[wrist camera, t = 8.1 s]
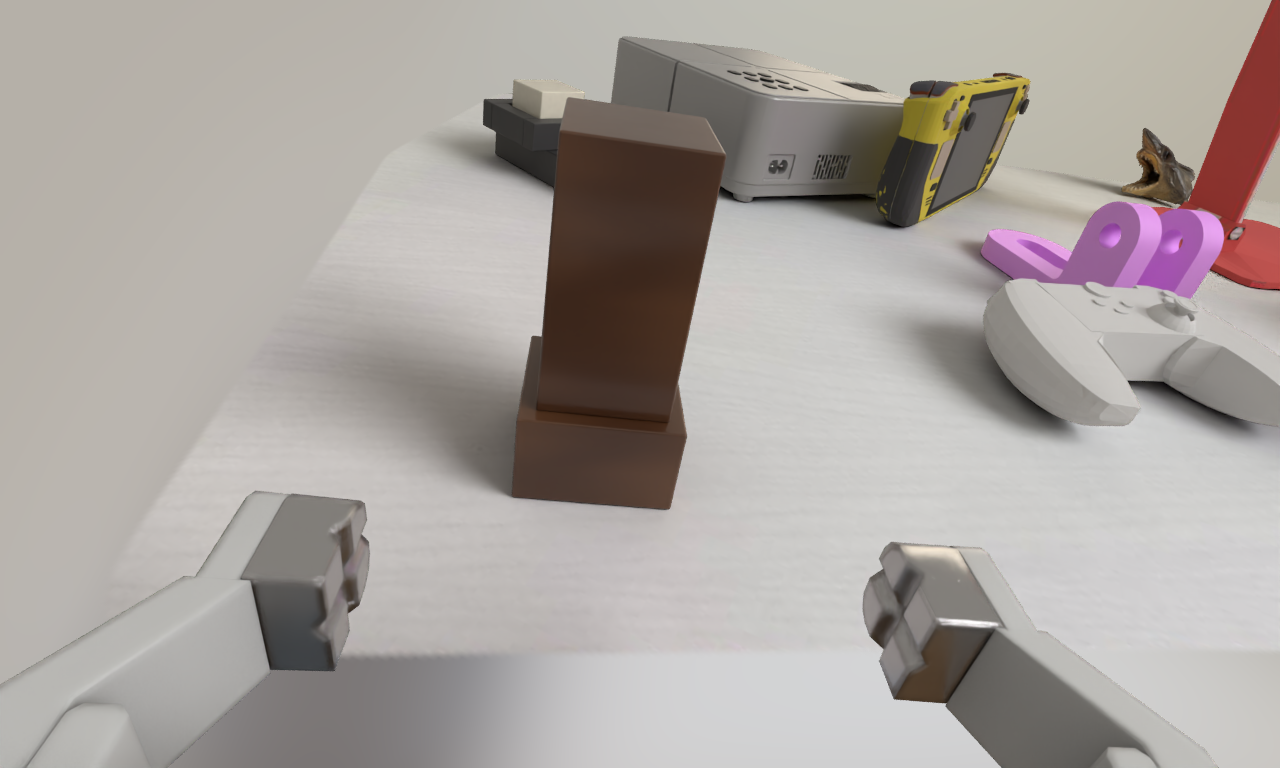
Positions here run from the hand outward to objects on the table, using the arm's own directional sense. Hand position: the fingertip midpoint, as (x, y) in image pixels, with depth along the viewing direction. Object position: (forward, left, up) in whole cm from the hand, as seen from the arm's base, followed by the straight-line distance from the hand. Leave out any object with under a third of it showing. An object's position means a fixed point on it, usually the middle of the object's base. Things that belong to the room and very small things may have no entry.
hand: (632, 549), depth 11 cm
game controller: (+13, +30, -7) cm, 33 cm away
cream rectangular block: (-25, +37, -3) cm, 44 cm away
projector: (-15, +54, -7) cm, 56 cm away
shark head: (+21, +84, -7) cm, 86 cm away
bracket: (+11, +44, -7) cm, 45 cm away
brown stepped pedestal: (-5, +10, -7) cm, 13 cm away
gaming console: (+2, +58, -7) cm, 58 cm away
